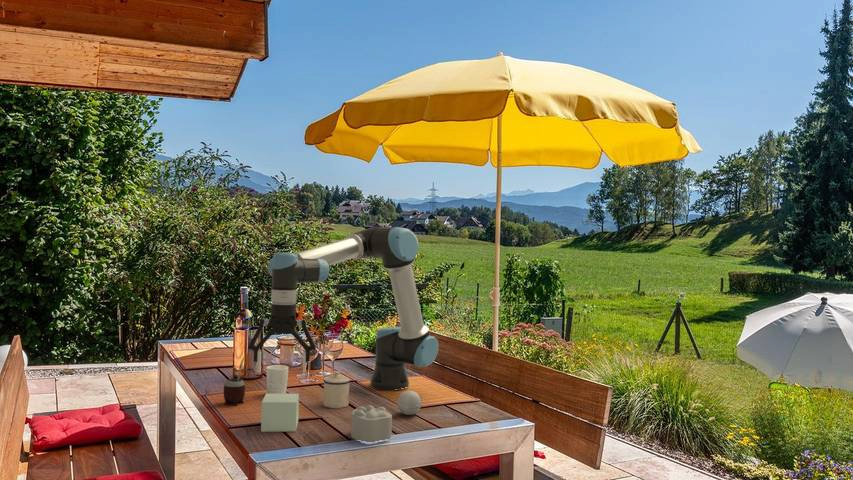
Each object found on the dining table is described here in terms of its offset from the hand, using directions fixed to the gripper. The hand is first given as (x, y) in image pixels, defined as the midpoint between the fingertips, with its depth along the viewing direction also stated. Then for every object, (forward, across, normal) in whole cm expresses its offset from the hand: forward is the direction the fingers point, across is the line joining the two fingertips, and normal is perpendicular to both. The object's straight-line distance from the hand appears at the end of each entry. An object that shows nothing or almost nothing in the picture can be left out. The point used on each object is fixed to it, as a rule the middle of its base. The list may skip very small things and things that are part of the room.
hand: (281, 372), depth 202 cm
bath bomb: (+17, +41, +13) cm, 46 cm away
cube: (+17, 0, 0) cm, 17 cm away
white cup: (+17, -5, +39) cm, 43 cm away
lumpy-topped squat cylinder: (+17, +27, -10) cm, 33 cm away
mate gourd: (+17, -18, +27) cm, 37 cm away
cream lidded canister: (+17, +16, +26) cm, 35 cm away
